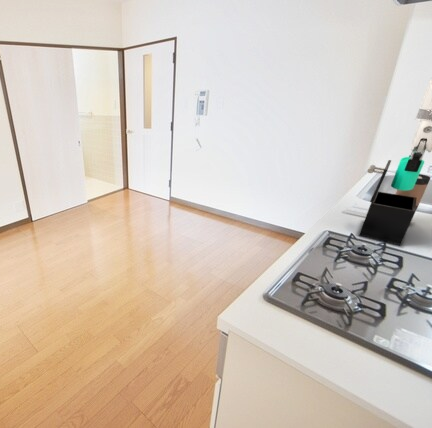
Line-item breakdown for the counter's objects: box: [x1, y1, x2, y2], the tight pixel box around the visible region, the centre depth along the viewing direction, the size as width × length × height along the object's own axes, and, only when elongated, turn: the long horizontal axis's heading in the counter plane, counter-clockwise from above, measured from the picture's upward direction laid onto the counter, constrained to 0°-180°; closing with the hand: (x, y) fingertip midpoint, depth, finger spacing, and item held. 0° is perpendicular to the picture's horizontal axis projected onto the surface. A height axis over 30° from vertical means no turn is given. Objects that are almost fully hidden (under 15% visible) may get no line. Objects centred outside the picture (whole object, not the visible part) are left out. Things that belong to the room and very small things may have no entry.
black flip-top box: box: [358, 190, 417, 247], centre depth 107 cm, size 12×17×14 cm
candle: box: [390, 156, 425, 191], centre depth 100 cm, size 6×6×12 cm
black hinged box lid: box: [366, 159, 392, 203], centre depth 106 cm, size 12×17×5 cm
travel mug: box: [395, 173, 431, 210], centre depth 113 cm, size 8×8×20 cm
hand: (411, 168), depth 98 cm, fingers closed on candle, 6 cm apart
